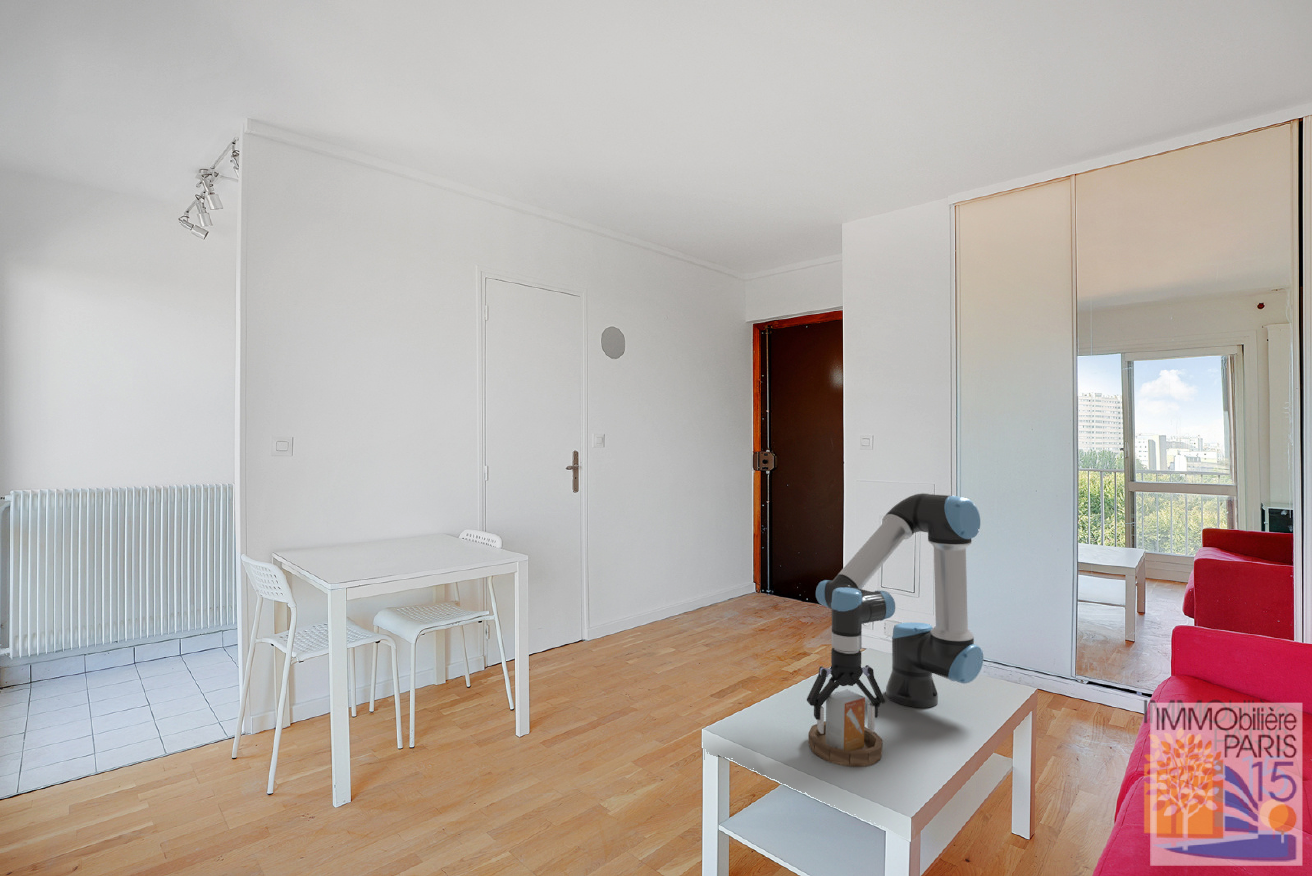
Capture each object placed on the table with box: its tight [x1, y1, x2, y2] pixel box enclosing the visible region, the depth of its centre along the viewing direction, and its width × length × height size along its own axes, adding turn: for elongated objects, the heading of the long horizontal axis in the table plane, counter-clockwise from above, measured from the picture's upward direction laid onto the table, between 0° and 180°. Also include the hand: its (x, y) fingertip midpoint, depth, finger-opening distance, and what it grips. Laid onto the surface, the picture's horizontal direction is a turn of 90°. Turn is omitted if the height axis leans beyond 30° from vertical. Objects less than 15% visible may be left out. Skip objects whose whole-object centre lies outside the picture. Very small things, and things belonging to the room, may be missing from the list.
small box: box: [825, 689, 866, 751], centre depth 164 cm, size 8×6×13 cm
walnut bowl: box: [807, 720, 884, 768], centre depth 164 cm, size 18×18×3 cm
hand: (845, 730), depth 164 cm, fingers open, 13 cm apart
